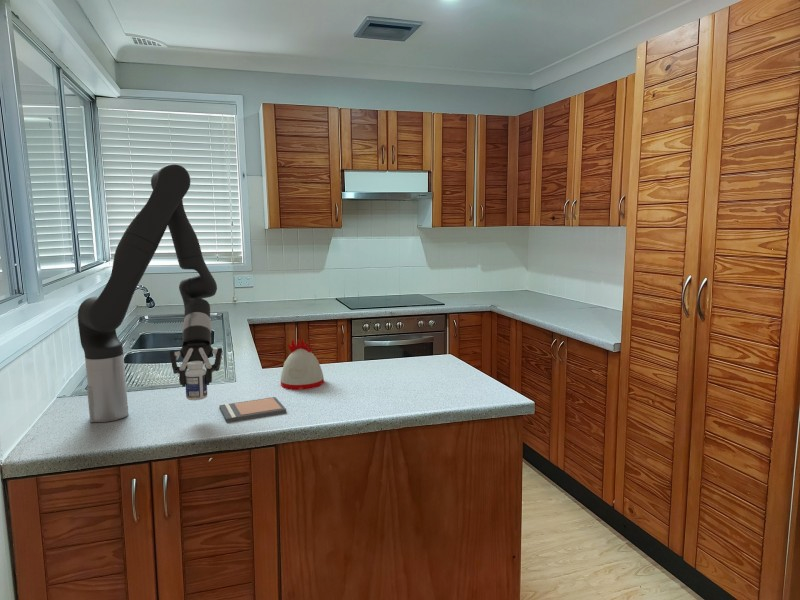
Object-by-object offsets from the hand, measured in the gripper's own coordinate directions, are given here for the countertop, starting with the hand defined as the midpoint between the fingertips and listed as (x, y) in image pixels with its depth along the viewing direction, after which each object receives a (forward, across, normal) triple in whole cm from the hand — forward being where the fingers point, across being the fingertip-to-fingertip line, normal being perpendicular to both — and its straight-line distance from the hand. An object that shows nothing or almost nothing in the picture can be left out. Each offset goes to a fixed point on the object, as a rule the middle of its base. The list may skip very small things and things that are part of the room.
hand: (195, 384), depth 147 cm
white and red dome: (-12, +31, +26) cm, 42 cm away
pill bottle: (+2, 0, +4) cm, 5 cm away
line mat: (+4, +14, +10) cm, 18 cm away
